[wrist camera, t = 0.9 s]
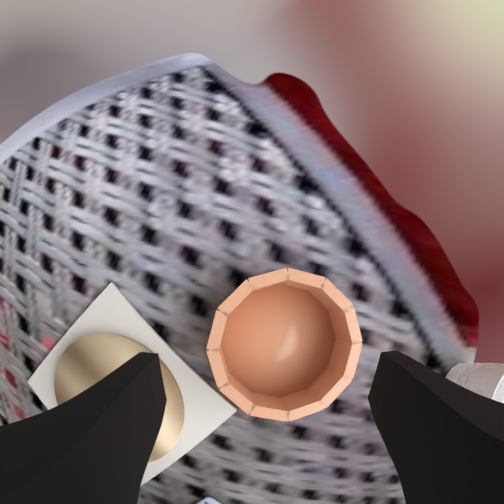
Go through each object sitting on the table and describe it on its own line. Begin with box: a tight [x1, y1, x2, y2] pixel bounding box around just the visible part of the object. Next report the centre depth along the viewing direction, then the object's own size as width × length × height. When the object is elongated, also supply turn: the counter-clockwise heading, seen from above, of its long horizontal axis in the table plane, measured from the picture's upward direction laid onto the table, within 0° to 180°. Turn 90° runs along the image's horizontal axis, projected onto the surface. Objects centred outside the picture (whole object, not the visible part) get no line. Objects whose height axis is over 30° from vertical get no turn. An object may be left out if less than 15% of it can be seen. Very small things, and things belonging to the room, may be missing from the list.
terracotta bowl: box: [206, 268, 362, 422], centre depth 25 cm, size 13×13×5 cm
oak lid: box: [54, 333, 184, 463], centre depth 22 cm, size 15×15×4 cm
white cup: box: [445, 363, 504, 403], centre depth 23 cm, size 8×8×10 cm
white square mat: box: [28, 282, 237, 486], centre depth 25 cm, size 18×18×1 cm
